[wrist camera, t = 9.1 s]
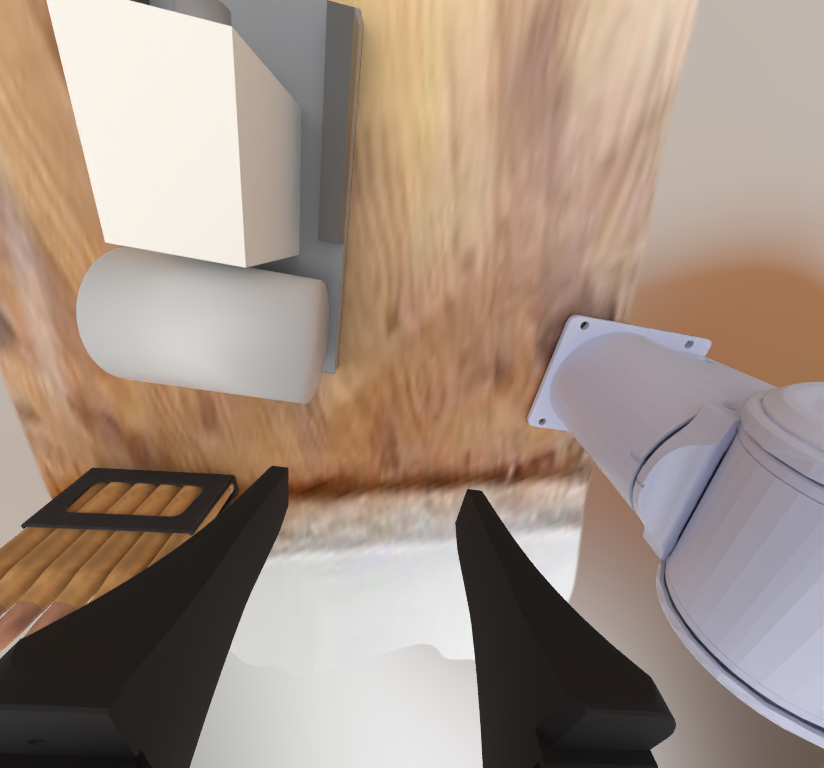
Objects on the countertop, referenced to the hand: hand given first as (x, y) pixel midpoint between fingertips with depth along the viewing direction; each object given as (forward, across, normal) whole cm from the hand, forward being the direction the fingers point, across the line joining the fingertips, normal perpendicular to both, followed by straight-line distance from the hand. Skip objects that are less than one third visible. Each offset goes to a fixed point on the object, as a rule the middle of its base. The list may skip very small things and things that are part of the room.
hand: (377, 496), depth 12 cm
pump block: (+8, +8, -11) cm, 16 cm away
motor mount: (+9, +8, -9) cm, 15 cm away
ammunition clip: (+10, +16, +11) cm, 22 cm away
